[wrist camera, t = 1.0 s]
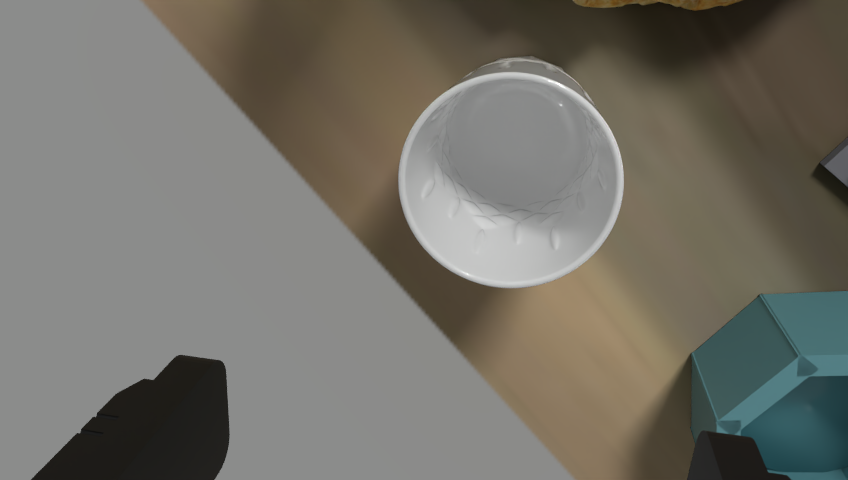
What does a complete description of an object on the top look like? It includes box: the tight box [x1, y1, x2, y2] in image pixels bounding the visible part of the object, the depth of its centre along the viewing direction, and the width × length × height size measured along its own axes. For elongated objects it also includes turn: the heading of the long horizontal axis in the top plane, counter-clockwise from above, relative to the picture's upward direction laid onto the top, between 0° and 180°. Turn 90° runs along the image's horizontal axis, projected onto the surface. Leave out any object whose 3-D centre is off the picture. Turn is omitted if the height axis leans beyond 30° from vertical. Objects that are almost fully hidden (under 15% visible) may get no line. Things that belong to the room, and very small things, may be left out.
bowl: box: [690, 291, 848, 480], centre depth 34 cm, size 11×11×6 cm
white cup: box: [398, 56, 624, 288], centre depth 30 cm, size 8×8×10 cm
